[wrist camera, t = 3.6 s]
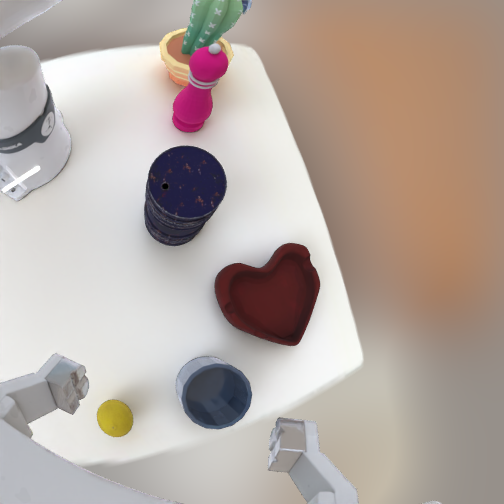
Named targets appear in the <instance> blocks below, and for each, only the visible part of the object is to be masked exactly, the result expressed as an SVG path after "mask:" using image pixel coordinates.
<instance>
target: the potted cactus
mask: <svg viewBox="0 0 504 504" xmlns="http://www.w3.org/2000/svg"><path fill="white" fill-rule="evenodd" d="M251 4H252V1H251V0H194V1H193V5H192V12H191V16H190V24H189V26H188V28H182V29H179V30H176V31H173V32H170V33H168V34H167V35H166V36H165V37H164V38H163V39H162V41H161V42H160V43H159V45H160V53H161V59H162V61H164V62H165V65H166V68H167V70H168V71H169V76H170V78H171V79H172V80H173V81H174V82H175V83H176V84H179V85H182V86H185V87H186V86H187V85H188V84H189V80H188V74H189V70H190V68H189V61H190V58H191V56H192V54H193V53H194V52H195V51H196V50H198V49H200V48H202V47H208V46H210V45H211V44H214V43H216V44H219V45H220V47H221V50H222V51H223V52H224V53H225V54H226V56H227V58H228V65H229V64H230V62H231V60H232V58H233V56H234V54H233V51H232V49H231V46H230V44H229V43H228V42H227V41H226V40H224V39H223V38H222V37H221V36H222V34H224V33H225V32H226V31H228V30H229V29H230V28H232V27H233V26H234V25H235V23H236V22H237V20H238V18H239V17H240V15H241V14H242V12H243V14H245V13H246V12H247V10H249V9H250V7H251Z"/></svg>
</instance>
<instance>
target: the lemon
mask: <svg viewBox="0 0 504 504" xmlns="http://www.w3.org/2000/svg"><path fill="white" fill-rule="evenodd" d="M97 421H98V424H99V426H100V428H101V429H102V430H103V431H104V432H105V433H106V434H108V435H110V436H113V437H121V436H124V435H126V434H127V433H128V432H129V431H130V430H131V428H132V425H133V415H132V413H131V410H130V409H129V408H128V406H127V405H126V404H124V403H123V402H121V401H118V400H108V401H106V402H104V403H103V404H101V406H100V407H99V409H98V412H97Z"/></svg>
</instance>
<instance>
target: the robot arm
mask: <svg viewBox="0 0 504 504" xmlns="http://www.w3.org/2000/svg"><path fill="white" fill-rule="evenodd" d="M60 1H62V0H0V39H1V38H2V37H4V36H5V35H7V34H9V33H10V32H12V31H13V30H14V29H16V28H18V27H20V26H21V25H23V24H24V23H26V22H28V21H30V20H31V19H33V18H35V17H37V16H39V15H41V14H42V13H44V12H45V11H47V10H49V9H50V8H51V7H53V6H54V5H56V4H57V3H59V2H60ZM70 151H71V137H70V134H69V132H68V130H67V129H66V127H65V126H64V124H63V117H62V114H61V112H60V111H59V110H57V109H56V107H55V104H54V102H53V99H52V93H51V91H50V89H49V87H48V85H47V84H46V83H45V80H44V76H43V72H42V68H41V64H40V59H39V57H38V55H37V54H36V52H35V51H34V50H32V49H31V48H29V47H26V46H20V45H11V46H5V47H1V48H0V191H1V192H3V193H5V194H6V195H8V196H9V197H11V198H13V199H14V200H21V199H22V198H23V197H24V196H26V195H27V194H28V193H29V192H30V191H31V190H33V189H35V188H37V187H40V186H42V185H44V184H46V183H48V182H49V181H50V180H52V179H53V178H54V177H55V176H56V175H57V174H58V173H59V172H60V171H61V170H62V168H63V167H64V165H65V164H66V162H67V160H68V157H69V155H70ZM14 189H15V191H14V192H13V190H14ZM85 373H86V369H85V366H83V365H80V364H78V363H76V362H74V361H72V360H70V359H68V358H66V357H64V356H61V355H59V354H57V353H56V354H53V355H52V356H51V357H50V359H49V360H48V361H47V362H46V363H45V364H44V365H43V366H42V367H41V368H40V370H39V371H38V372H37V373H36V374H35V373H31V374H28V375H25V376H21V377H18V378H15V379H12V380H8V381H5V382H1V383H0V504H181V503H178V502H174V501H170V500H166V499H163V498H160V497H156V496H153V495H150V494H146V493H144V492H140V491H137V490H134V489H132V488H129V487H126V486H124V485H121V484H118V483H116V482H113V481H111V480H109V479H106V478H104V477H101V476H99V475H97V474H94V473H92V472H90V471H88V470H86V469H84V468H82V467H80V466H78V465H76V464H74V463H72V462H70V461H68V460H66V459H64V458H62V457H61V456H59V455H57V454H55V453H53V452H52V451H50V450H48V449H46V448H45V447H43V446H41V445H40V444H38V443H37V442H35V441H33V440H32V439H30V438H31V437H32V435H33V433H32V431H31V429H30V427H29V426H28V423H30V422H32V421H34V420H36V419H38V418H40V417H42V416H44V415H46V414H48V413H50V412H52V411H54V410H56V409H57V408H59V409H61V410H63V411H66V412H68V413H70V414H72V415H73V414H74V413H75V411H76V410H77V408H78V407H79V405H80V404H79V400H81V399H83V398H85V396H86V394H87V392H88V389H89V381H88V379H87V377H86V376H85ZM269 450H270V451H271V453H270V455H269V457H268V458H269V459H268V470H269V471H277V472H287V473H289V475H290V477H291V478H292V480H293V481H294V483H295V485H296V486H297V488H298V489H299V491H300V492H301V494H302V495H303V497H304V498H305V500H306V501H307V504H359V502H358V495H357V489H356V488H355V487H354V486H353V485H352V484H351V483H350V482H349V481H348V480H347V479H346V478H345V476H344V475H343V474H342V473H341V472H340V471H339V470H338V469H337V468H336V466H335V465H334V464H333V463H332V462H331V461H330V460H329V459H328V458H327V456H326V455H325V454H324V453H320V447H319V437H318V429H317V423H316V422H315V421H308V420H299V419H288V418H278V419H277V421H276V427H275V428H273V430H272V433H271V436H270V441H269ZM421 504H442V503H440V502H438V501H429V502H425V503H421Z"/></svg>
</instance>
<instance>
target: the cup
mask: <svg viewBox="0 0 504 504" xmlns="http://www.w3.org/2000/svg"><path fill="white" fill-rule="evenodd" d="M176 391H177V395H178V398H179V401H180V403H181V405H182V407H183V409H184V411H185V413H186V414H187V415H188V417H189V418H190V419H191V420H192V421H193V422H194V423H196V424H198V425H200V426H202V427H204V428H209V429H222V428H225V427H229V426H232V425H233V424H235V423H236V422H238V421H239V420H240V419H242V417H244V415H245V413H246V412H247V410H248V409H249V407H250V403H251V398H252V392H251V387H250V383H249V381H248V380H247V378H246V377H245V375H244V374H243V373H242V372H241V371H240V370H238V369H236V368H235V367H233V366H231V365H229V364H228V363H226V362H224V361H223V360H221V359H219V358H215V357H209V356H204V357H199V358H195V359H193V360H191V361H189V362H188V363H187V364H185V366H184V367H183V368H182V369H181V370H180V372H179V374H178V376H177V380H176Z"/></svg>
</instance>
